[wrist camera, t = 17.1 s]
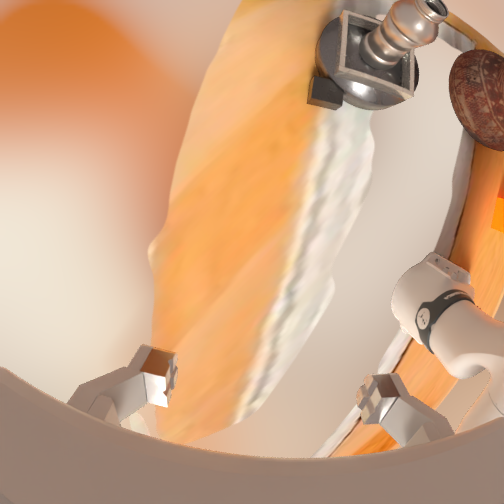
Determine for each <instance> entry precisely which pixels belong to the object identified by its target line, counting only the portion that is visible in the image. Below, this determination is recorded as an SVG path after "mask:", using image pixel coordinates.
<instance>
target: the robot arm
mask: <svg viewBox="0 0 504 504" xmlns="http://www.w3.org/2000/svg"><path fill="white" fill-rule="evenodd" d="M436 259H437V260H436ZM435 260H436V261H435ZM474 295H475V292H474V288H473V287H472V286H471V285H470V273H469V272H468V271H466V270H465V269H463V268H461V267H459V266H458V265H456V264H454V263H453V262H451V261H449V260H447V259H445V258H444V257H442V256H440V255H438V254H436V253H435V252H431V253H429V254H428V255H427V256H426V257H425V258H424V260H423V261H422V262H420V263H418V264H416V265H415V266H413V267H411V268H410V269H409V270H408V271H407V272H405V273H404V274H403V276H402V277H401V278H400V280H399V281H398V283H397V284H396V286H395V289H394V291H393V294H392V299H391V308H392V312H393V314H394V316H395V317H396V319H397V320H398V321H399V322H400V328H401V331H402V332H403V333H405V334H407V333H409V334H410V335H411V336H412V337H413V338H414V339H415V340H416V341H417V342H418V343H419V344H421V345H422V344H424V346H425V347H426V348H427V349H428V350H429V351H430V352H431V353H432V354H435V355H436V356H437V358H438V359H439V360H440V362H441V363H442V365H443V366H444V367H445V369H446V370H447V371H448V373H449V374H450V375H452V376H453V377H456V378H459V379H466V378H470V377H472V376H474V375H477V374H478V373H480V372H481V371H483V370H484V369H487V370H488V371H489V373H490V376H491V378H490V380H489V382H488V384H487V386H486V387H485V388H484V390H483V391H482V393H481V394H480V396H479V397H478V398H477V400H476V401H475V402H474V404H473V405H472V406H471V408H470V409H469V410H468V411H467V413H466V414H465V416H464V418H463V420H462V421H461V423H460V425H459V426H458V428H457V430H456V432H455V433H454V432H453V430H452V428H451V426H450V424H449V422H448V420H447V419H446V418H445V417H444V416H442V415H441V414H439V413H438V412H436V411H435V410H433V409H432V408H430V407H429V406H427V405H426V404H424V403H423V402H421V401H420V400H418V399H417V398H415V397H414V396H410V395H409V393H408V391H407V389H406V387H405V386H404V384H403V382H402V380H401V378H400V376H399V375H398V374H397V373H387V374H368V375H367V376H366V377H365V379H364V383H365V384H364V385H363V386H361V387H360V388H359V390H358V392H357V397H356V401H357V405H358V407H359V408H360V409H361V410H362V411H361V413H360V415H361V418H362V421H363V424H380V425H381V426H382V427H383V428H384V429H385V430H386V431H387V432H388V433H389V434H390V435H391V436H392V437H393V438H394V439H395V440H396V441H397V442H398V443H399V444H400V445H401V446H402V447H403V448H401V449H396V450H390V451H384V452H378V453H371V454H363V455H354V456H343V457H328V458H276V457H260V456H248V455H239V454H231V453H224V452H217V451H211V450H205V449H200V448H195V447H190V446H186V445H181V444H177V443H173V442H169V441H165V440H161V439H157V438H154V437H150V436H147V435H144V434H140V433H137V432H134V431H131V430H128V429H125V428H122V427H121V424H120V422H121V421H122V420H124V419H125V418H127V417H128V416H130V415H131V414H133V413H134V412H136V411H137V410H139V409H140V408H141V407H143V406H144V405H145V404H147V402H148V403H152V404H156V405H160V406H164V407H167V406H168V403H169V401H170V398H171V390H172V389H174V387H175V384H176V380H177V373H178V368H177V366H176V363H177V360H178V358H177V353H175V352H171V351H168V350H164V349H160V348H156V347H152V346H148V345H145V344H142V345H141V346H140V347H139V349H138V350H137V352H136V354H135V355H134V357H133V359H132V360H131V362H130V363H129V365H128V367H122V368H120V369H117V370H115V371H113V372H111V373H108V374H106V375H103V376H101V377H98V378H96V379H94V380H91V381H89V382H86V383H84V384H81V385H79V387H78V388H77V390H76V391H75V392H74V394H73V396H72V397H71V398H70V400H69V401H68V403H67V404H65V403H63V402H61V401H60V400H58V399H56V398H54V397H52V396H50V395H48V394H46V393H45V392H43V391H41V390H39V389H37V388H36V387H34V386H32V385H30V384H29V383H28V382H26V381H24V380H23V379H21V378H19V377H18V376H17V375H15V374H14V373H12V372H11V371H9V370H8V369H6V368H4V367H0V504H504V322H502V321H498V320H495V319H494V318H492V317H491V316H489V315H488V314H486V313H485V312H483V311H482V310H481V308H478V306H476V305H475V303H474V302H473V301H474Z"/></svg>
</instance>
